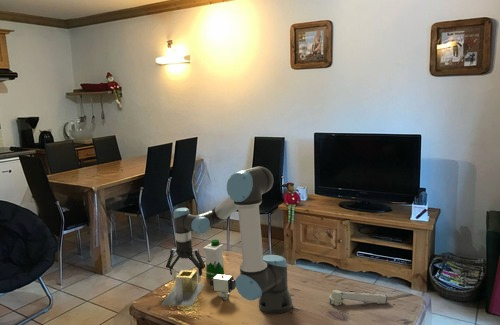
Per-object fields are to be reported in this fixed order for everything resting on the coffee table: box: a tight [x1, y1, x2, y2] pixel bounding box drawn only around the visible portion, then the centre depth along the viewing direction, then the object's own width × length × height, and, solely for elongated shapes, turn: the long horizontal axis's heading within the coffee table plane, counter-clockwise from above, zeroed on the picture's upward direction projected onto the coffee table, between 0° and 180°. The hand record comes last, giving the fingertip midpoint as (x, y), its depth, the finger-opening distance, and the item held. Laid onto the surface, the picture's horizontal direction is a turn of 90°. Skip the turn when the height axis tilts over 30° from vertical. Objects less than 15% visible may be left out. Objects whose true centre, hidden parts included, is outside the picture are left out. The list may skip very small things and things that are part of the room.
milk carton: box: [203, 239, 225, 279], centre depth 212 cm, size 9×9×20 cm
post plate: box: [160, 279, 206, 307], centre depth 194 cm, size 15×22×12 cm
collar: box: [176, 269, 199, 293], centre depth 199 cm, size 8×8×8 cm
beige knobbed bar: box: [328, 289, 388, 307], centre depth 180 cm, size 5×7×25 cm
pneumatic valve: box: [209, 273, 236, 301], centre depth 191 cm, size 6×12×12 cm, turn 68°
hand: (186, 281), depth 199 cm, fingers open, 12 cm apart
